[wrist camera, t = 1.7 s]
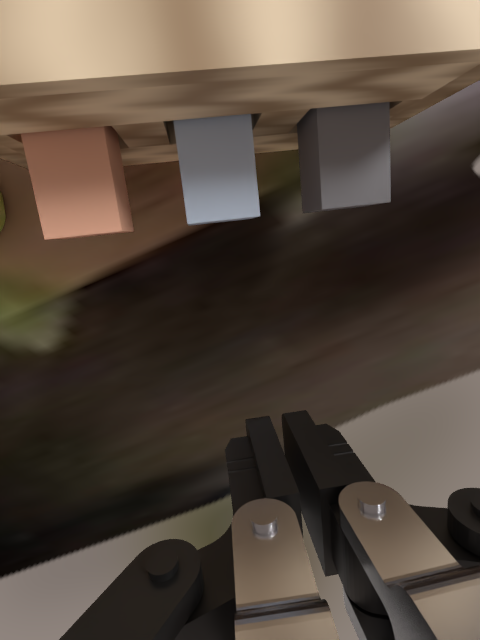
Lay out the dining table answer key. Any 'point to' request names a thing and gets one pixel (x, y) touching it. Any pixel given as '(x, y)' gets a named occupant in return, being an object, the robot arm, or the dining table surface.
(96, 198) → the key terracotta
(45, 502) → the dining table surface
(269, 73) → the console
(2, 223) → the plant pot
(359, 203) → the key charcoal
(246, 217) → the key slate
